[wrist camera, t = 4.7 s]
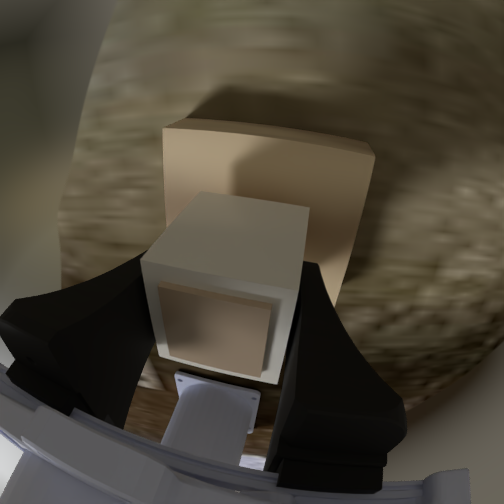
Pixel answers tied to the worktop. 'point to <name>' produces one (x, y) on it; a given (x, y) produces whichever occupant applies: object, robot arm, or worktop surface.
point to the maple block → (275, 179)
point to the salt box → (227, 284)
